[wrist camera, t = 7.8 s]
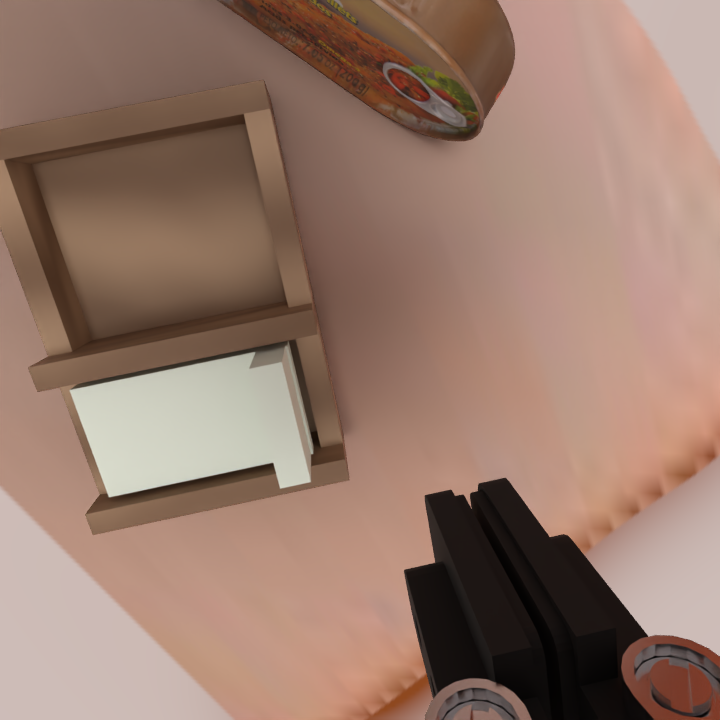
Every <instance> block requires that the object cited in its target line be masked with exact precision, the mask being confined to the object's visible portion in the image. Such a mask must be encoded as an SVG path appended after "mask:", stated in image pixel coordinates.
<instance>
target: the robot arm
mask: <svg viewBox="0 0 720 720" xmlns="http://www.w3.org/2000/svg"><path fill="white" fill-rule="evenodd" d="M470 500H471V507H472V509H471V507H470V505H469V504H468V502H467V500H466V498H465V496H464V495H458V496H455V495H454V493H453V492H452V490H447V491H442V492H438V493H433V494H429V495H425V504H426V510H427V516H428V522H429V528H430V534H431V540H432V545H433V551H434V557H435V563H433V564H428V565H424V566H419V567H415V568H410V569H406V570H404V573H405V579H406V585H407V590H408V595H409V600H410V605H411V610H412V615H413V619H414V624H415V628H416V633H417V637H418V641H419V645H420V649H421V653H422V657H423V661H424V665H425V669H426V673H427V677H428V680H429V684H430V688H431V692H432V696H433V700H432V701H431V703H430V705H429V708H428V710H427V712H426V715H425V720H720V656H718V655H717V654H716V653H714V652H713V651H711V650H710V649H709V648H707V647H704V646H702V645H700V644H698V643H696V642H694V641H691V640H688V639H684V638H680V637H676V636H667V635H654V636H650V637H648V635H647V634H646V633H645V632H644V630H643V629H642V628H641V626H640V625H639V624H638V623H637V621H635V619H634V618H633V616H632V615H631V614H630V613H629V611H628V610H627V609H626V608H625V606H624V605H623V604H622V603H621V601H620V600H619V599H618V598H617V596H616V595H615V594H614V592H613V591H612V590H611V589H610V587H609V586H608V585H607V583H606V582H605V581H604V580H603V578H602V577H601V576H600V575H599V573H598V572H597V571H596V570H595V569H594V567H593V566H592V564H591V563H590V562H589V561H588V559H587V558H586V557H585V556H584V554H583V553H582V552H581V551H580V549H579V548H578V547H577V546H576V544H575V543H574V542H573V541H572V540H571V538H570V537H569V536H567V535H564V534H563V535H558V536H554V537H549V536H548V534H547V533H546V531H545V530H544V529H543V527H542V526H541V525H540V523H539V522H538V520H537V519H536V518H535V516H534V515H533V514H532V512H531V511H530V510H529V508H528V507H527V505H526V504H525V503H524V501H523V500H522V499H521V497H520V496H519V494H518V493H517V492H516V490H515V489H514V488H513V486H512V485H511V483H510V482H509V481H508V480H507V479H506V478H502V479H497V480H493V481H488V482H484V483H479V485H478V491H477V492H472V493H471V494H470Z"/></svg>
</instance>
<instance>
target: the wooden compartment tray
mask: <svg viewBox="0 0 720 720" xmlns="http://www.w3.org/2000/svg"><path fill="white" fill-rule="evenodd" d="M0 229H1V231H2V234H3V237H4V239H5V242H6V245H7V247H8V250H9V253H10V256H11V258H12V261H13V264H14V266H15V269H16V272H17V274H18V277H19V280H20V282H21V285H22V288H23V290H24V293H25V296H26V298H27V301H28V304H29V306H30V309H31V312H32V314H33V317H34V320H35V322H36V325H37V328H38V330H39V333H40V336H41V338H42V341H43V344H44V346H45V349H46V352H47V355H48V357H47V358H45V359H43V360H41V361H39V362H38V363H36V364H34V365H32V366H30V367H28V369H29V371H30V374H31V376H32V379H33V382H34V384H35V387H36V389H37V392H40V391H45V390H50V389H55V388H59V387H60V389H61V392H62V395H63V397H64V400H65V403H66V405H67V408H68V411H69V413H70V416H71V419H72V421H73V424H74V427H75V429H76V432H77V435H78V437H79V440H80V443H81V445H82V448H83V451H84V454H85V456H86V459H87V462H88V464H89V467H90V470H91V472H92V475H93V478H94V480H95V483H96V486H97V488H98V491H99V494H100V495H99V497H98V498H97V499H96V501H95V502H94V503H93V505H92V506H91V507H90V509H89V510H88V511H87V513H86V514H85V516H86V518H87V521H88V524H89V526H90V529H91V531H92V534H93V535H96V534H100V533H105V532H110V531H114V530H119V529H124V528H128V527H133V526H138V525H142V524H147V523H152V522H156V521H161V520H166V519H170V518H175V517H180V516H184V515H189V514H194V513H198V512H203V511H208V510H212V509H217V508H222V507H226V506H231V505H236V504H240V503H245V502H249V501H254V500H259V499H263V498H268V497H273V496H277V495H282V494H287V493H291V492H296V491H301V490H305V489H310V488H315V487H319V486H324V485H329V484H333V483H338V482H343V481H347V480H349V473H348V465H347V458H346V451H345V444H344V436H343V432H342V427H341V422H340V418H339V413H338V409H337V404H336V399H335V395H334V390H333V385H332V381H331V376H330V372H329V367H328V362H327V358H326V353H325V349H324V344H323V339H322V335H321V330H320V326H319V321H318V316H317V312H316V307H315V302H314V298H313V293H312V289H311V284H310V279H309V275H308V270H307V266H306V261H305V256H304V252H303V247H302V243H301V238H300V233H299V229H298V224H297V219H296V215H295V210H294V206H293V201H292V196H291V192H290V187H289V183H288V178H287V173H286V169H285V164H284V159H283V155H282V150H281V146H280V141H279V136H278V132H277V127H276V123H275V118H274V113H273V109H272V104H271V100H270V96H269V93H268V90H267V88H266V85H265V82H264V80H259V81H254V82H249V83H243V84H238V85H233V86H228V87H222V88H217V89H212V90H207V91H201V92H196V93H191V94H186V95H180V96H175V97H170V98H164V99H159V100H154V101H149V102H143V103H138V104H133V105H128V106H122V107H117V108H112V109H106V110H101V111H96V112H91V113H85V114H80V115H75V116H70V117H64V118H59V119H54V120H49V121H43V122H38V123H33V124H27V125H22V126H17V127H12V128H6V129H1V130H0ZM284 341H289V345H290V349H291V354H292V358H293V362H294V366H295V370H296V375H297V379H298V383H299V387H300V392H301V396H302V400H303V404H304V409H305V413H306V417H307V421H308V426H309V430H310V434H311V438H312V443H313V454H311V482H309V483H304V484H300V485H295V486H290V487H286V488H281V489H280V486H279V482H278V478H277V475H276V471H275V467H274V463H269V464H264V465H259V466H255V467H250V468H245V469H240V470H236V471H231V472H226V473H222V474H217V475H212V476H208V477H203V478H198V479H193V480H189V481H184V482H179V483H175V484H170V485H165V486H160V487H156V488H151V489H146V490H142V491H137V492H132V493H128V494H123V495H118V496H113V497H109V496H108V493H107V491H106V488H105V485H104V483H103V480H102V477H101V474H100V472H99V469H98V466H97V464H96V461H95V458H94V455H93V453H92V450H91V447H90V445H89V442H88V439H87V436H86V434H85V431H84V428H83V426H82V423H81V420H80V417H79V415H78V412H77V409H76V407H75V404H74V401H73V398H72V396H71V393H70V389H72V388H73V387H74V386H76V385H77V384H80V383H85V382H89V381H94V380H99V379H104V378H109V377H114V376H119V375H123V374H128V373H133V372H138V371H143V370H148V369H153V368H158V367H162V366H167V365H172V364H177V363H182V362H187V361H192V360H196V359H201V358H206V357H211V356H216V355H221V354H226V353H231V352H235V351H240V350H245V349H250V348H255V347H260V346H265V345H269V344H274V343H279V342H284Z"/></svg>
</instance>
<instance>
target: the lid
mask: <svg viewBox="0 0 720 720" xmlns="http://www.w3.org/2000/svg"><path fill="white" fill-rule="evenodd" d="M70 393H71V396H72V398H73V401H74V404H75V407H76V409H77V412H78V415H79V417H80V420H81V423H82V426H83V428H84V431H85V434H86V436H87V439H88V442H89V445H90V447H91V450H92V453H93V455H94V458H95V461H96V464H97V466H98V469H99V472H100V474H101V477H102V480H103V483H104V485H105V488H106V491H107V493H108V496H109V497H113V496H118V495H123V494H128V493H132V492H137V491H142V490H146V489H151V488H156V487H160V486H165V485H170V484H175V483H179V482H184V481H189V480H193V479H198V478H203V477H208V476H212V475H217V474H222V473H226V472H231V471H236V470H240V469H245V468H250V467H255V466H259V465H264V464H269V463H274V467H275V471H276V475H277V478H278V482H279V486H280V489H281V488H286V487H290V486H295V485H300V484H304V483H309V482H311V454H313V443H312V438H311V434H310V430H309V426H308V421H307V417H306V413H305V409H304V404H303V400H302V396H301V392H300V387H299V383H298V379H297V375H296V370H295V366H294V362H293V358H292V354H291V349H290V345H289V341H284V342H279V343H274V344H269V345H265V346H260V347H255V348H250V349H245V350H240V351H235V352H231V353H226V354H221V355H216V356H211V357H206V358H201V359H196V360H192V361H187V362H182V363H177V364H172V365H167V366H162V367H158V368H153V369H148V370H143V371H138V372H133V373H128V374H123V375H119V376H114V377H109V378H104V379H99V380H94V381H89V382H85V383H80V384H77V385H76V386H74V387H73V388H72V389H70Z"/></svg>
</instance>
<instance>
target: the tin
mask: <svg viewBox="0 0 720 720" xmlns="http://www.w3.org/2000/svg"><path fill="white" fill-rule="evenodd" d="M218 1H220V2H221V3H222V4H224V5H225V6H227V7H228V8H229V9H231V10H232V11H234V12H235V13H237V14H238V15H239V16H241V17H243V18H244V19H245V20H247V21H248V22H250V23H251V24H252V25H254V26H255V27H257V28H258V29H260V30H261V31H263V32H264V33H266V34H267V35H268V36H270V37H271V38H273V39H274V40H276V41H277V42H279V43H280V44H282V45H283V46H284V47H286V48H287V49H289V50H290V51H291V52H293V53H294V54H296V55H297V56H299V57H300V58H301V59H303V60H304V61H306V62H307V63H309V64H310V65H312V66H313V67H314V68H316V69H317V70H319V71H320V72H321V73H323V74H324V75H326V76H327V77H328V78H330V79H331V80H333V81H334V82H336V83H337V84H339V85H340V86H342V87H343V88H344V89H346V90H347V91H349V92H350V93H352V94H353V95H354V96H356V97H357V98H359V99H360V100H362V101H363V102H365V103H366V104H367V105H369V106H370V107H372V108H374V109H375V110H376V111H378V112H380V113H381V114H383V115H385V116H386V117H388V118H390V119H392V120H394V121H396V122H398V123H400V124H402V125H404V126H406V127H408V128H410V129H412V130H414V131H416V132H419V133H422V134H423V135H427V136H431V137H434V138H438V139H442V140H447V141H467V140H471V139H473V138H474V137H476V136H477V135H478V134H479V133H480V131H481V129H482V127H483V123H484V120H485V118H486V116H487V115H488V113H489V111H490V109H491V108H492V106H493V105H494V103H495V101H496V100H497V98H498V97H499V95H500V93H501V92H502V90H503V88H504V87H505V85H506V83H507V81H508V78H509V76H510V74H511V71H512V68H513V64H514V59H515V46H514V39H513V34H512V31H511V28H510V26H509V23H508V20H507V18H506V16H505V14H504V12H503V10H502V8H501V6H500V4H499V3H498V1H497V0H218Z"/></svg>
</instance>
